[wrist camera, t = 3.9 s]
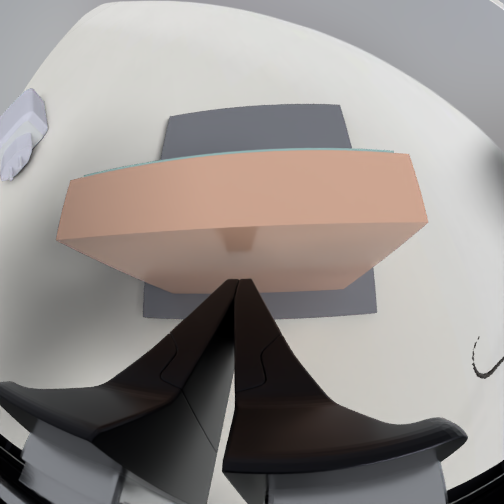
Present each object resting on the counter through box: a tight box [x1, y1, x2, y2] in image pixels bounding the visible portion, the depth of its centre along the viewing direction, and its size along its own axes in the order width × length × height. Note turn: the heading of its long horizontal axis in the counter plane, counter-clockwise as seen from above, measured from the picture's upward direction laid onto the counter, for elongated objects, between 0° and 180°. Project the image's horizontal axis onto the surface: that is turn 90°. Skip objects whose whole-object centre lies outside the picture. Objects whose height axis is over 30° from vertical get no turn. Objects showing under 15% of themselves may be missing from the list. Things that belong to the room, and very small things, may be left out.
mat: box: [143, 104, 377, 319], centre depth 18 cm, size 16×14×1 cm
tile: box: [56, 148, 428, 294], centre depth 11 cm, size 2×10×10 cm, turn 90°
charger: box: [0, 88, 48, 181], centre depth 22 cm, size 5×9×15 cm
